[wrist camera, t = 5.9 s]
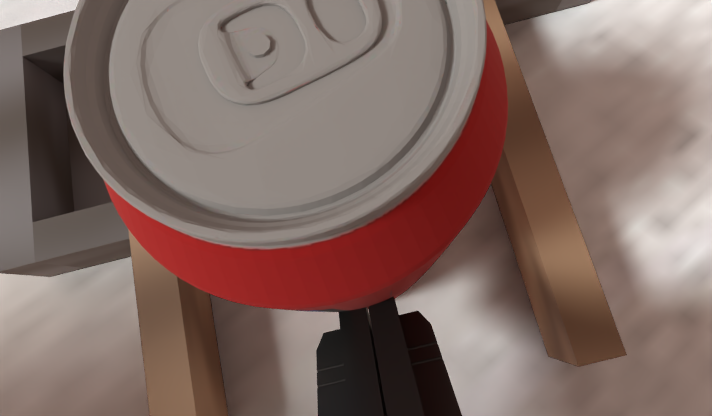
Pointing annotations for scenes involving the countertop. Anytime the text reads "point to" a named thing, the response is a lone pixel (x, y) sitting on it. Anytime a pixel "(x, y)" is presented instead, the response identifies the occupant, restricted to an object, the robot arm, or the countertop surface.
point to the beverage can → (290, 137)
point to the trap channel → (193, 306)
